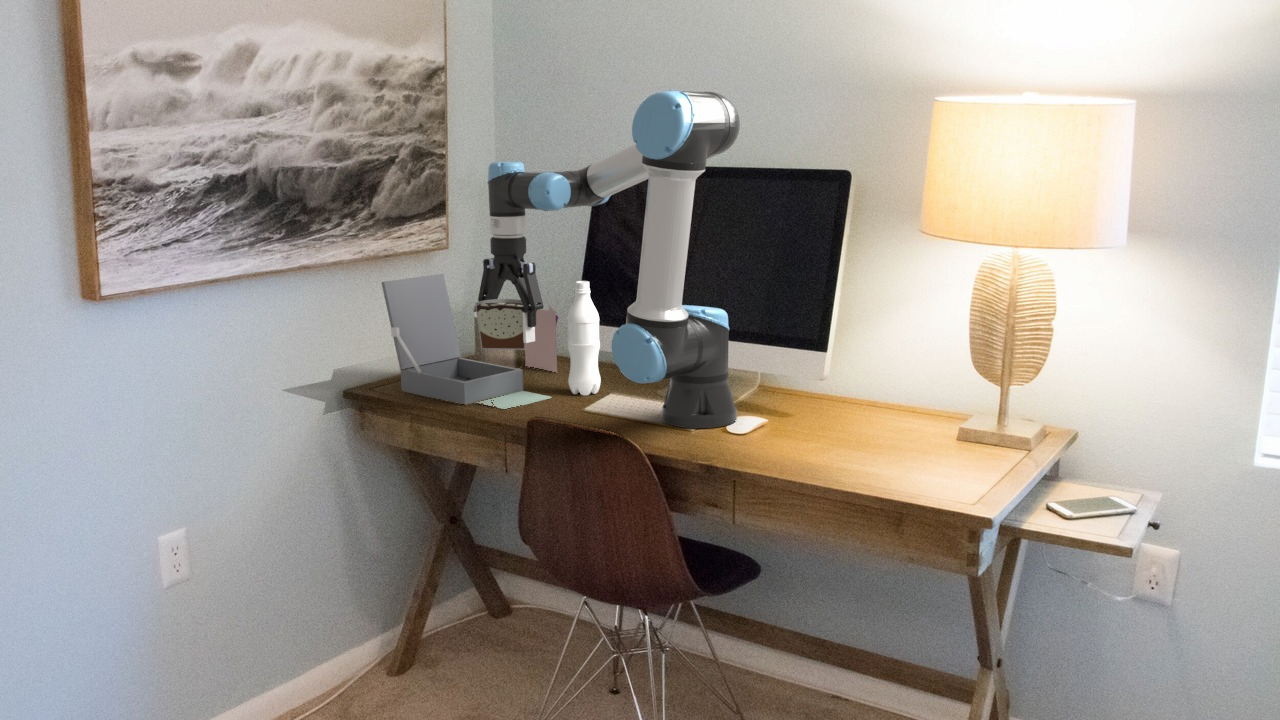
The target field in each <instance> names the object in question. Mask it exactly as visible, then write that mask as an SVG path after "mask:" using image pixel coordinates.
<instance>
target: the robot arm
mask: <svg viewBox="0 0 1280 720" xmlns="http://www.w3.org/2000/svg"><path fill="white" fill-rule="evenodd" d="M740 126H741V119H740V115H739V112H738V110H737V108H736V106H735V104H734V103H733V102H732V101H731V100H730V99H728V98H727V97H726V96H725V95H722V94H721V93H719V92H718V93H717V92H714V91H691V90H690V91H688V90H687V91H686V90H677V89H676V90H667V91H658V92H655V93H653V94H651V95H649V96H648V97H647V98H646V99H644V100H643V101H642V102H641V103H640V105H639V106H638V108H637V109H636V111H635V114H634V116H633V119H632V123H631V134H632V135H631V136H632V137H631V138H632V141H633V142H634V143H633V144H631V145H628V146H627V147H624V148H622V149H621V150H620V149H619V150H618V151H616V152H613V153H612V154H610V155H607V156H606V157H603V158H601V159H599V160H597V161H595V162H594V163H592V164H590V165H587V166H585V167H583V168H581V169H577V170H566V171H547V172H546V171H545V172H533V171H532V172H526V170H525V165H524V163H523V162H522V161H493V162H491V163H490V164H489V165H488V175H487V185H488V187H487V188H488V207H489V233H490V235H492V236H491V238H490V239H489V241H490V242H489V243H490V254H491V255H493V257H491V258H484V259H483V260H482V261H483V262H482V265H483V269H482V270H483V272H482V275H481V280H480V281H481V282H480V287H479V292H478V297H477V302H479V301H484V300H493V299H499V296H500V294H501V291H502V289H503V286H504V284H505V282H506V281H509V282H511V284H512V285H514V287H515V289H516V292H517V294H518V297H519V298H520V299H519V300H521V301H522V304H523V306H524V308H525V310H524V311H523V343H529V342H534V341H535V327H536V311H537V310H539V309H541V310H544V301H543V298H542V294H541V289H540V286H539V281H538V278H537V274H536V272H537V271H536V266H537V265H536V263H535V262H526V261H525V258H524V256H525V255H526V253H527V238H526V236H524V235H526V234H527V227H526V225H527V223H526V209H528V210H538V211H542V212H543V211H544V212H550V211H552V212H554V211H561V210H562V209H565V208H579V207H580V208H581V207H595V206H599V205H603V204H605V203H607V202H608V201H609V199H610V197H611V196H612V195H615V194H617V193H620V192H622V191H624V190H626V189H628V188H630V187H634V186H635V185H638V184H640V183H642V182H645V181H647V180H648V182H647V191H646V192H647V193H646V203H645V212H644V221H643V229H642V230H643V231H642V241H641V242H642V243H641V252H640V262H639V270H638V272H639V273H638V283H637V292H636V300H635V301H634V302H633V303H631V304H630V305H629V306H628V307H627V312H626V322H625V324H622V325H621V326H620V327H618V329H617V330H615V332H614V333H613V336H612V339H611V353H612V357H613V360H614V362H615V365H616V366H617V367H618V369H619V372H621V374H622V375H623V376H624V377H626V379H628V380H629V381H632V382H634V383H637V384H648V383H658V382H661V381H663V380H666V379H669V380H670V381H669V385H668V388H667V392H666V395H665V398H664V401H663V405H662V407H661V420H662V421H663V422H664V423H665V424H668V425H671V426H675V427H680V428H689V429H709V428H710V429H712V428H719V427H725V426H729V425H731V424H734V423H735V422H736V421H737V418H738V417H737V414H738V413H737V412H738V409H737V406H736V404H735V400H734V397H733V394H732V391H731V386H730V384H729V341H730V340H729V335H730V333H729V332H730V326H729V316H728V313H727V312H726V310H724V309H722V308H718V307H713V306H711V307H710V306H700V305H689V304H688V305H687V304H683V297H684V296H683V295H684V287H685V286H684V285H685V278H686V277H685V276H686V269H687V268H686V267H687V261H688V251H689V243H690V233H691V224H692V215H693V207H694V197H695V190H696V180H697V179H698V177H700V176H701V175H702V174H703V173H705V172H706V165H707V159H710V158H713V157H715V156H718V155H721V154H723V153H724V152H726V151H728V150H729V149H730V148H732V146H733V145H734V144H735V142H736V140H737V139H738V136H739V134H740V128H741V127H740ZM529 305H530V306H529ZM735 420H736V421H735ZM734 421H735V422H734Z"/></svg>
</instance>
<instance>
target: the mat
mask: <svg viewBox="0 0 1280 720" xmlns="http://www.w3.org/2000/svg"><path fill="white" fill-rule="evenodd" d="M548 399H552V396H550V395H545V394H541V393H537V392H536V393H535V392H530V391H526V390H523V391H520V392H516V393H512V394H508V395H504V396H500V397H496V398H492V399H488V400H484V401H480V402H475V403H474V404H476V403H480V404H481V403H483V404H484V405H488V406H492V405H493V404H494V405H493V407H494V406H496V407H497V408H501V409H507V408H511V407H515V408H517V407H516V406H519V407H521V406H520V405H522V406H525V405H530V404H533V403H537V402H541V401H542V402H543V401H546V400H548ZM491 400H492V401H491ZM493 400H494V401H493ZM491 402H493V404H492V403H491ZM511 409H512V408H511ZM507 410H508V409H507Z"/></svg>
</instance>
